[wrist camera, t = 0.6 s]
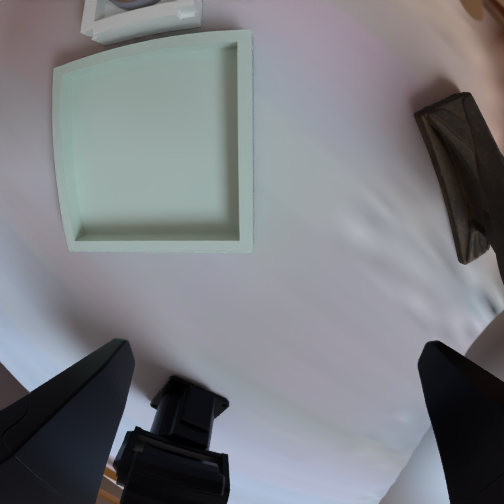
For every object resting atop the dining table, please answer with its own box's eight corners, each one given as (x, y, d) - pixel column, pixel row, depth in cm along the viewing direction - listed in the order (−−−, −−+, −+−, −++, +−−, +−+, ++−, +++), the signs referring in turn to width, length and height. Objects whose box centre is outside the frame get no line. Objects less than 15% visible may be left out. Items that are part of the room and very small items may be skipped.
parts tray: (253, 241, 20) (252, 253, 18) (81, 241, 20) (68, 251, 19) (252, 39, 15) (251, 29, 13) (69, 71, 15) (53, 68, 13)
